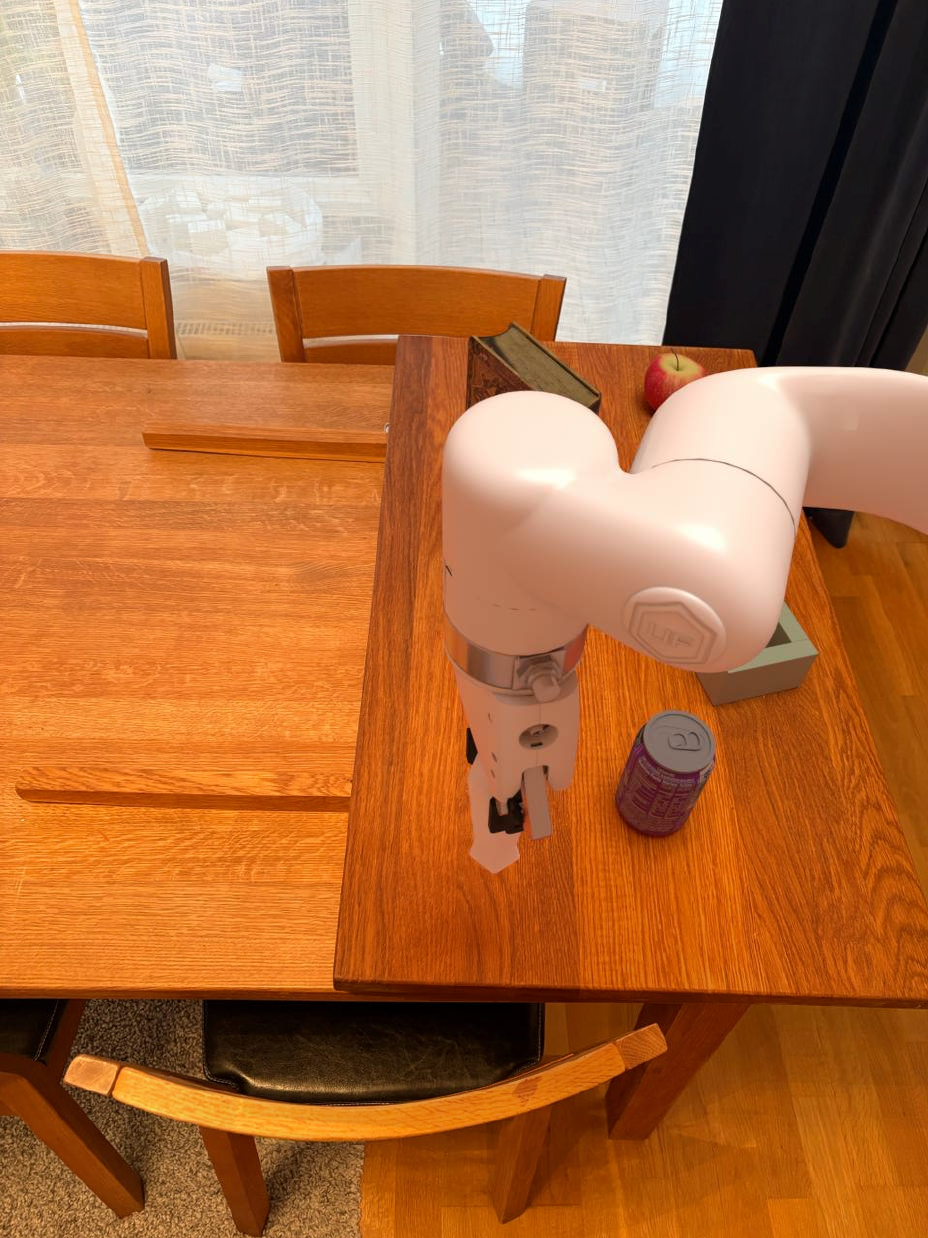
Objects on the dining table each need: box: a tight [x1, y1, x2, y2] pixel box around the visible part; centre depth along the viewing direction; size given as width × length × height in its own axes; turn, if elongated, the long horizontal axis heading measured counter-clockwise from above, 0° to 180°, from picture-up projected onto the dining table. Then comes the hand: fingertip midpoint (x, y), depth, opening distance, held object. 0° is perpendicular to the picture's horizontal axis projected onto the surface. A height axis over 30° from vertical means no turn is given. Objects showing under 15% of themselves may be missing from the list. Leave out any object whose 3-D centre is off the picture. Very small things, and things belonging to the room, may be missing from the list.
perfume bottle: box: [467, 754, 522, 875], centre depth 60 cm, size 5×4×15 cm
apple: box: [643, 347, 708, 412], centre depth 118 cm, size 8×8×10 cm
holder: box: [694, 601, 820, 707], centre depth 92 cm, size 10×10×6 cm
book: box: [464, 320, 603, 417], centre depth 95 cm, size 16×6×25 cm, turn 33°
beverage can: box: [615, 709, 717, 836], centre depth 78 cm, size 7×7×12 cm
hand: (499, 788), depth 58 cm, fingers closed on perfume bottle, 4 cm apart
